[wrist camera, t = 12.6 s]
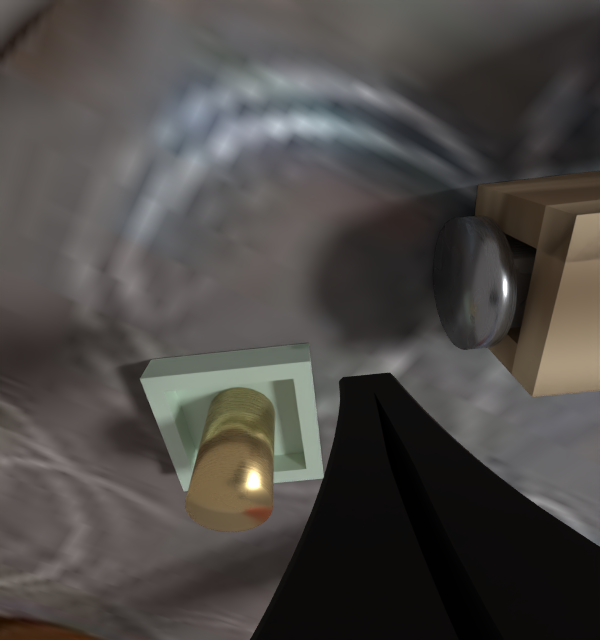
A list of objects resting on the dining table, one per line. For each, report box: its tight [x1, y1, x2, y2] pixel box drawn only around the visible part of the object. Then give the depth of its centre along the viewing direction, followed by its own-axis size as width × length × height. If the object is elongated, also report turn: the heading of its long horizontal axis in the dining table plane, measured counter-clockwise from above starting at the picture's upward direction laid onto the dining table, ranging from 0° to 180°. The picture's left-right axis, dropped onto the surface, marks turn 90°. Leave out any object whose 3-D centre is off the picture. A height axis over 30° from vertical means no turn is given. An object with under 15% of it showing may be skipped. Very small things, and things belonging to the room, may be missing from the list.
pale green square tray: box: [140, 343, 324, 491], centre depth 22 cm, size 9×9×2 cm
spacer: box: [185, 388, 275, 532], centre depth 19 cm, size 4×4×6 cm
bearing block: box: [475, 171, 600, 397], centre depth 15 cm, size 7×8×6 cm
